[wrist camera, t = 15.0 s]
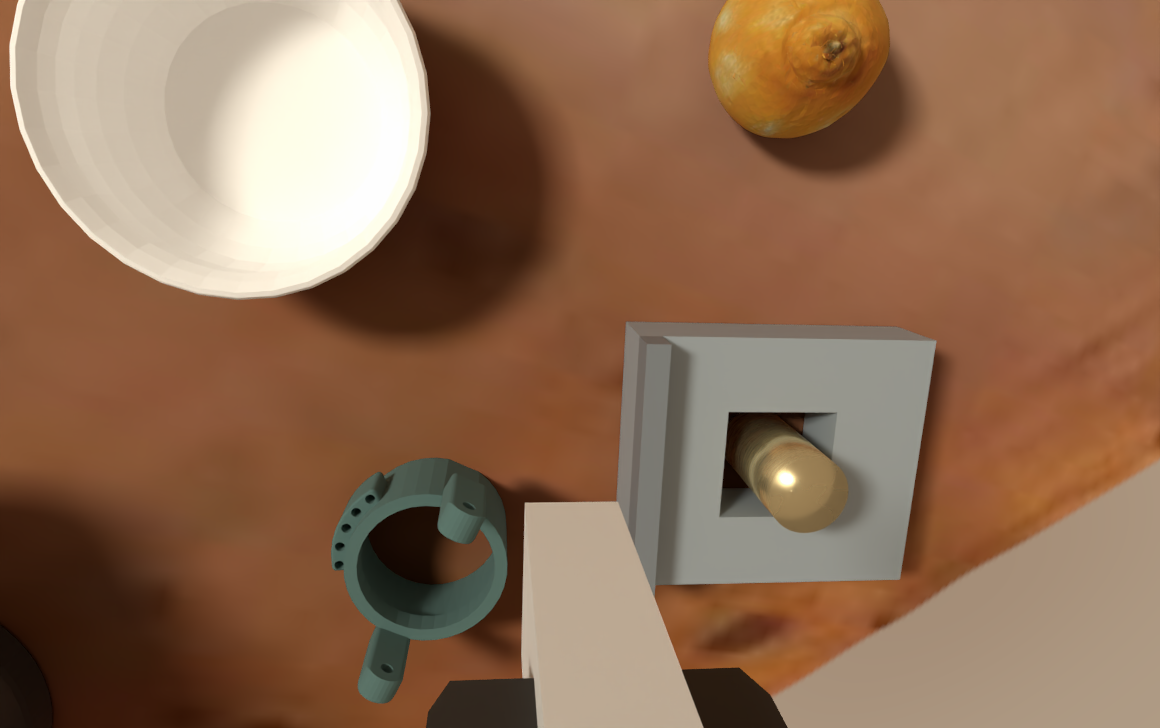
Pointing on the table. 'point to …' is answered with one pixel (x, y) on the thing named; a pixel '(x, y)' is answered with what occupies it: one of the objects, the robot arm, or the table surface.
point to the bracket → (404, 602)
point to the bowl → (225, 132)
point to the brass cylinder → (786, 471)
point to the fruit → (795, 61)
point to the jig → (768, 384)
